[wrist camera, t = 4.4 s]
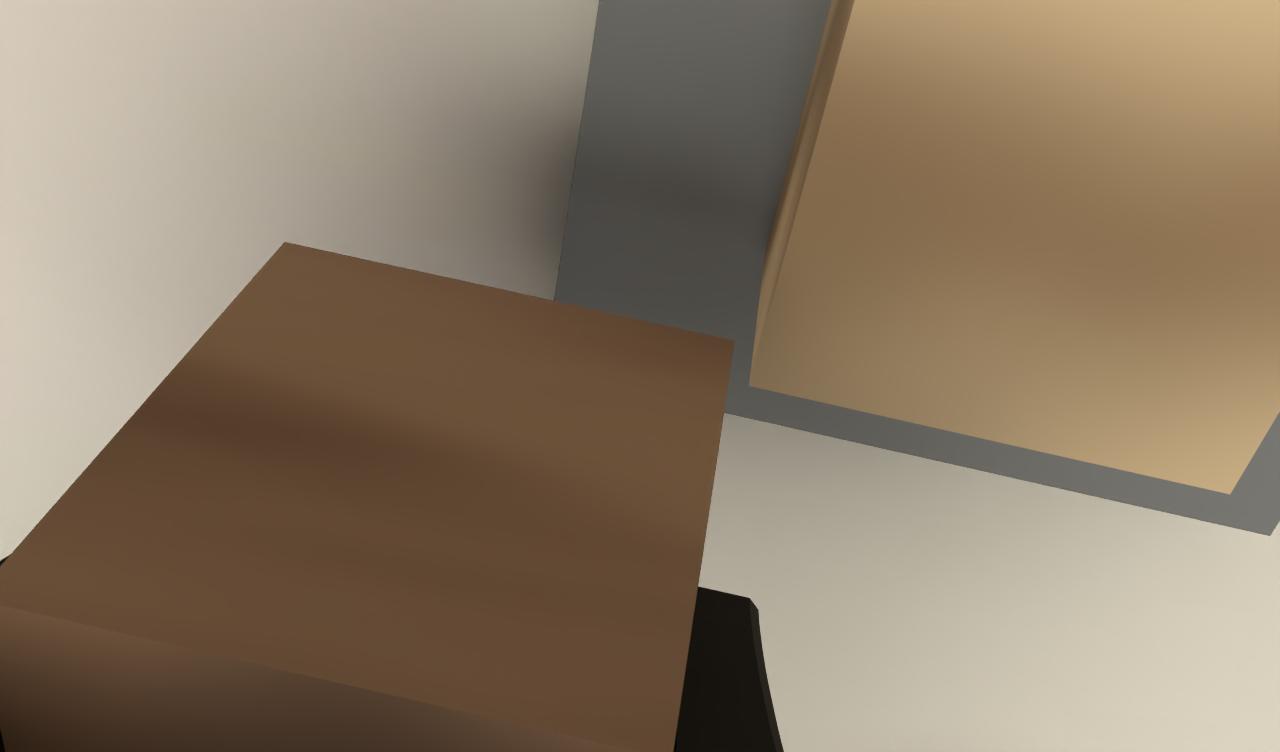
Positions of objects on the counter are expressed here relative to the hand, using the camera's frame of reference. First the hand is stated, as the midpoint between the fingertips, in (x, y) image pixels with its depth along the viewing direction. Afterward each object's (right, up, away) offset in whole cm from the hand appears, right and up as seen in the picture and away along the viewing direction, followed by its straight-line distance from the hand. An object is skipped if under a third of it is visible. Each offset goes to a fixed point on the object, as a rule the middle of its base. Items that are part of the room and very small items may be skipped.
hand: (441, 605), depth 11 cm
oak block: (+7, +6, +4) cm, 10 cm away
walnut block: (0, +1, +1) cm, 2 cm away
